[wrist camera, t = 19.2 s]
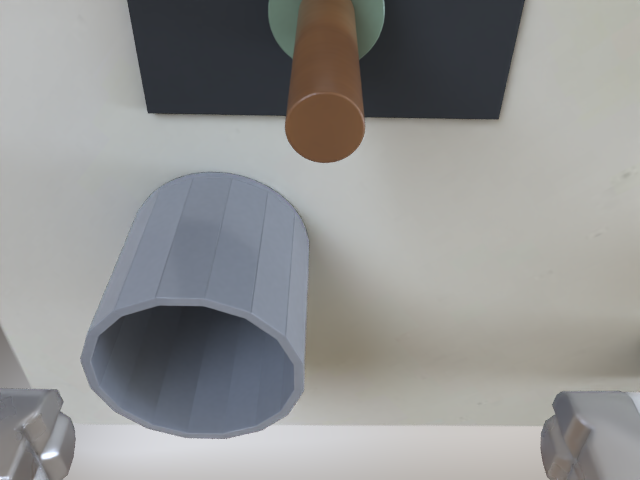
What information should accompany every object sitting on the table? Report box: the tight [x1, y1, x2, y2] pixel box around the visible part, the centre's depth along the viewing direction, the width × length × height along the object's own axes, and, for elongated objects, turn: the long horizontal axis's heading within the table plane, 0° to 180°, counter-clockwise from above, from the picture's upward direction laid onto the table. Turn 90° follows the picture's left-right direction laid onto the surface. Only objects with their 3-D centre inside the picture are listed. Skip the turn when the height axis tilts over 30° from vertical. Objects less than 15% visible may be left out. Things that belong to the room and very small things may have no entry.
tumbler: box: [80, 172, 309, 439], centre depth 33 cm, size 11×11×10 cm
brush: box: [268, 0, 385, 163], centre depth 23 cm, size 5×5×12 cm
